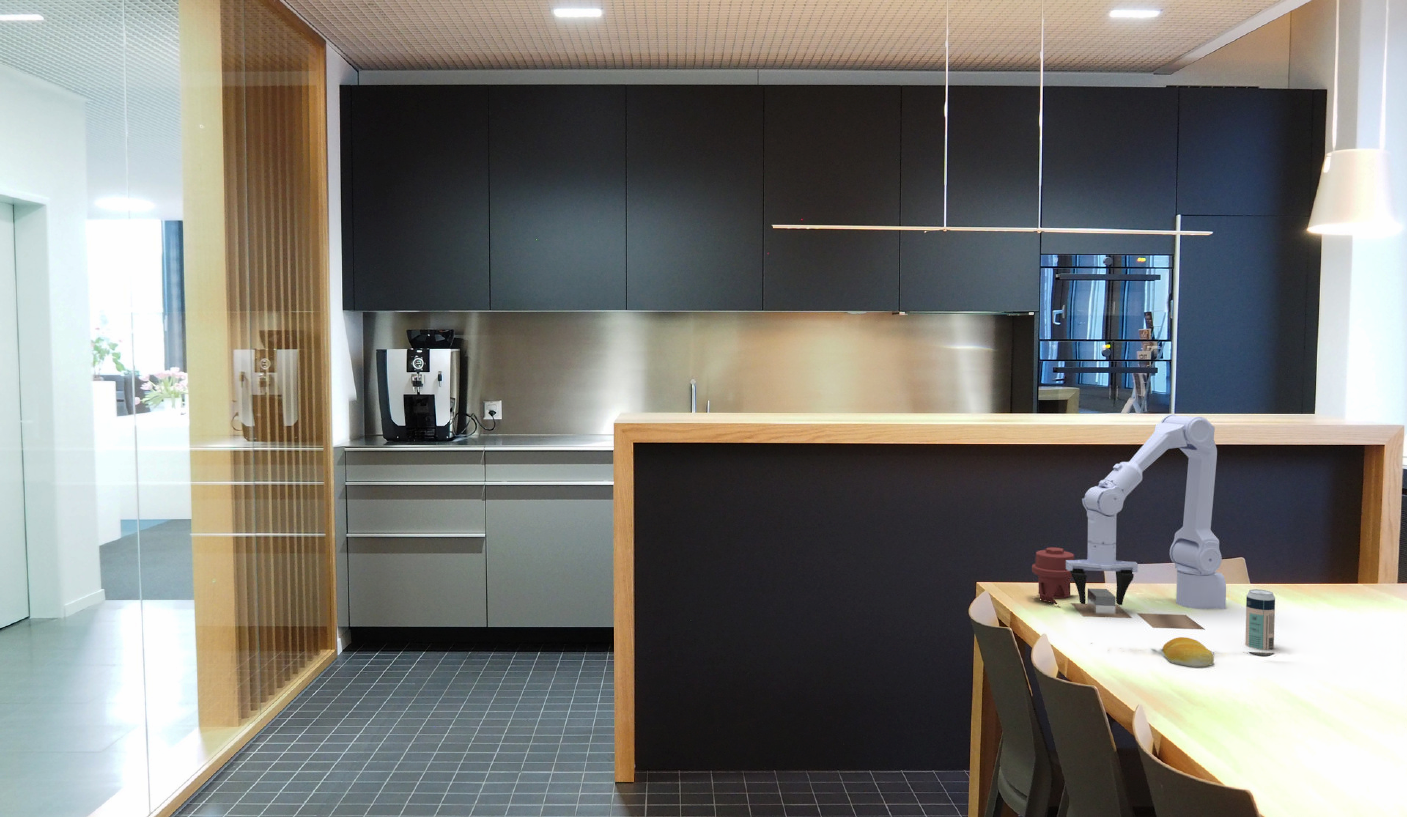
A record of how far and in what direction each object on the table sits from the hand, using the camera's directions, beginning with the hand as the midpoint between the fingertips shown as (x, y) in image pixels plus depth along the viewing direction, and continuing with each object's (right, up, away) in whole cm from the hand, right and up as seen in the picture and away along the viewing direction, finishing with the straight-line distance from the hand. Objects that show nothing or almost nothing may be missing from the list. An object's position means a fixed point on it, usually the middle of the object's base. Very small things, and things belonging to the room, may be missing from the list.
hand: (1100, 603), depth 205 cm
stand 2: (+11, -3, -9) cm, 14 cm away
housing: (0, -2, 0) cm, 2 cm away
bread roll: (+4, -5, -29) cm, 30 cm away
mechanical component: (-5, -3, +14) cm, 15 cm away
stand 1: (0, -3, 0) cm, 3 cm away
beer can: (+19, -4, -26) cm, 33 cm away
